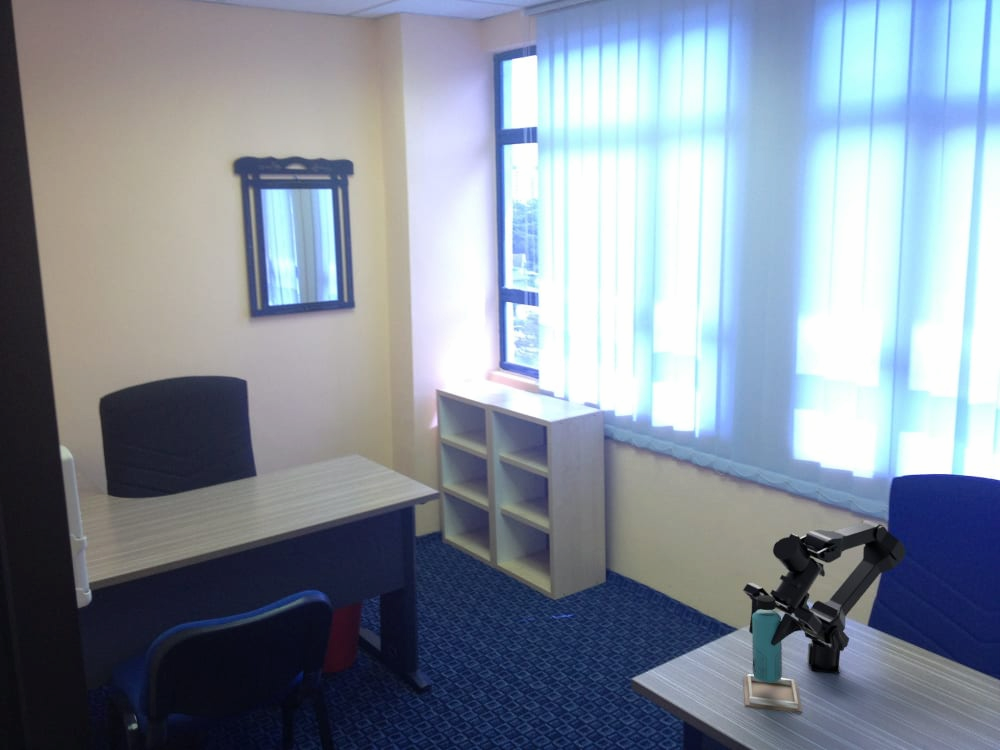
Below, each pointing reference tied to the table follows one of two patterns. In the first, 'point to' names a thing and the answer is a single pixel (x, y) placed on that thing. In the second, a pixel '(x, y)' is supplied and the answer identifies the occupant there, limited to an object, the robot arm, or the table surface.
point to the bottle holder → (772, 694)
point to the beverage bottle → (766, 641)
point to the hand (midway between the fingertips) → (761, 638)
